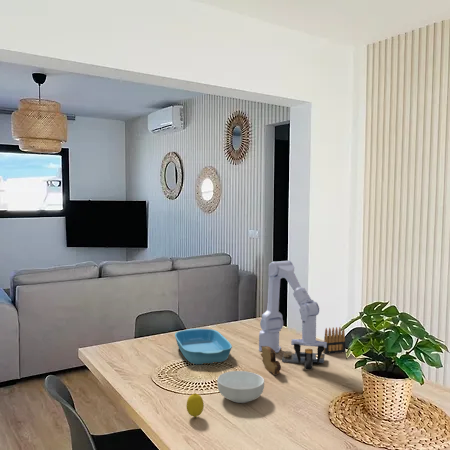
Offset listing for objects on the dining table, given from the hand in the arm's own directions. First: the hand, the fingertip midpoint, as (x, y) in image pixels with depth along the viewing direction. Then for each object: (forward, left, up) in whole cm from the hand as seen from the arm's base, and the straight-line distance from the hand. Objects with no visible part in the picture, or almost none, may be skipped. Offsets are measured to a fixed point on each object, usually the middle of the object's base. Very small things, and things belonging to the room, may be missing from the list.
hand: (308, 362), depth 190 cm
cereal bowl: (-21, -36, -3) cm, 42 cm away
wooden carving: (-15, -7, -3) cm, 17 cm away
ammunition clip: (+10, +24, -3) cm, 26 cm away
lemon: (-32, -54, -3) cm, 63 cm away
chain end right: (0, +9, -2) cm, 9 cm away
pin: (0, 0, -2) cm, 2 cm away
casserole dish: (-49, +6, -3) cm, 50 cm away
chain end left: (-5, +9, -2) cm, 11 cm away
